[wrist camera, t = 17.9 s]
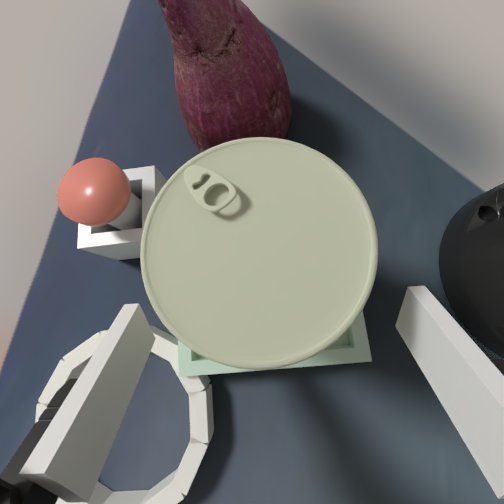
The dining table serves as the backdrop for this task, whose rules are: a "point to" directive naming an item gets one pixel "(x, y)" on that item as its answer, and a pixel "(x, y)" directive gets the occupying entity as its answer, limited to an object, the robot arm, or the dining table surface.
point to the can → (259, 253)
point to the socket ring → (201, 422)
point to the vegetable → (226, 72)
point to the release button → (99, 195)
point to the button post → (128, 241)
